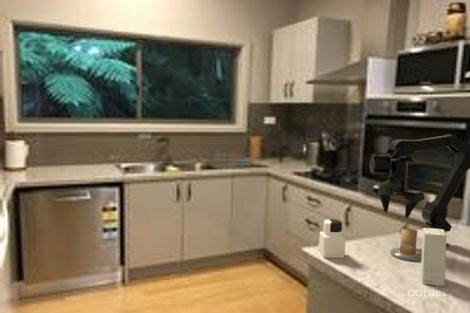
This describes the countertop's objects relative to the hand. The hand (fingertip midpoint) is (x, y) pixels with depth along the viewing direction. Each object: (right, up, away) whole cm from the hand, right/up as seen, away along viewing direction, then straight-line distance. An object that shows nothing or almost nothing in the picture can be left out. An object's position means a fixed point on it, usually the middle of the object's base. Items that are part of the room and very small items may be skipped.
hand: (396, 215), depth 152 cm
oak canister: (-1, -11, -12) cm, 16 cm away
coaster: (-1, -12, -12) cm, 17 cm away
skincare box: (-2, -15, -32) cm, 36 cm away
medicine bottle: (-27, -12, -12) cm, 32 cm away
